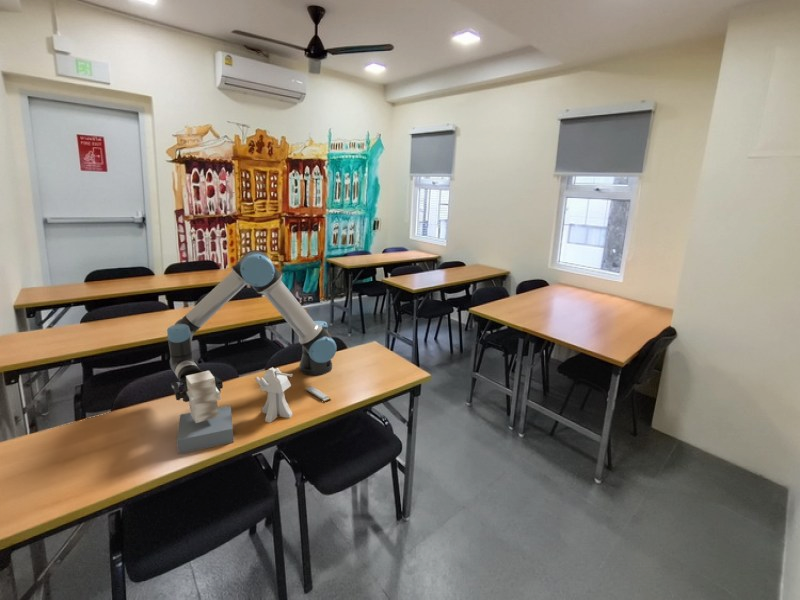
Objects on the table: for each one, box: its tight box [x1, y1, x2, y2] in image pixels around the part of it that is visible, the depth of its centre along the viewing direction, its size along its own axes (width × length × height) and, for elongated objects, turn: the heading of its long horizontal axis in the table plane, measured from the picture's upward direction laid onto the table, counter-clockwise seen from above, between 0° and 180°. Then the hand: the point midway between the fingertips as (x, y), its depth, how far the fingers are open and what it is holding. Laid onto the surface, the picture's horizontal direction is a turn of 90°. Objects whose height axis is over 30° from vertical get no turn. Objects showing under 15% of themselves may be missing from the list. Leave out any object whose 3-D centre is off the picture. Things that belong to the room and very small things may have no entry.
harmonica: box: [304, 385, 332, 404], centre depth 160 cm, size 15×3×2 cm, turn 46°
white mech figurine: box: [254, 366, 294, 423], centre depth 144 cm, size 12×13×18 cm
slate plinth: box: [176, 405, 235, 455], centre depth 132 cm, size 16×16×5 cm
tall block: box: [186, 370, 219, 423], centre depth 129 cm, size 7×7×14 cm
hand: (206, 399), depth 125 cm, fingers closed on tall block, 7 cm apart
